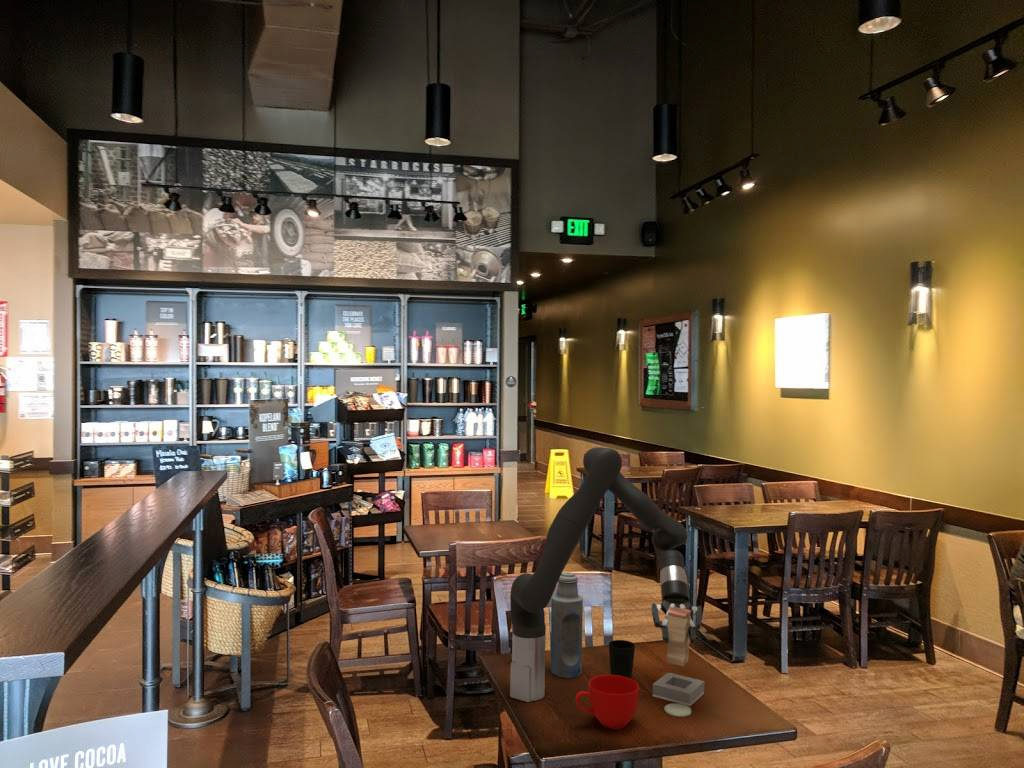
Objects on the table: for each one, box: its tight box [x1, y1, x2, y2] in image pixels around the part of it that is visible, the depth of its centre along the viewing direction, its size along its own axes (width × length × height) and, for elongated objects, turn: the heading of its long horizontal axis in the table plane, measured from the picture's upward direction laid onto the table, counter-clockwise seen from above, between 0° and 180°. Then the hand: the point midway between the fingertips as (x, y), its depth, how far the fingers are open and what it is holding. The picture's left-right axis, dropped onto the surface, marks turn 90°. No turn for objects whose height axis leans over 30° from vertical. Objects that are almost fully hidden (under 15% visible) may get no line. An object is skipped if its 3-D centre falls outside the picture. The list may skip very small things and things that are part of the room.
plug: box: [666, 607, 692, 667], centre depth 201 cm, size 5×5×14 cm
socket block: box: [652, 672, 705, 707], centre depth 210 cm, size 11×11×3 cm
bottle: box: [549, 571, 584, 679], centre depth 226 cm, size 10×10×30 cm
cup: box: [608, 639, 636, 680], centre depth 216 cm, size 8×8×12 cm
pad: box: [664, 702, 692, 718], centre depth 199 cm, size 7×7×1 cm
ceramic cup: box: [575, 674, 640, 730], centre depth 191 cm, size 13×17×10 cm
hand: (679, 641), depth 199 cm, fingers closed on plug, 6 cm apart
